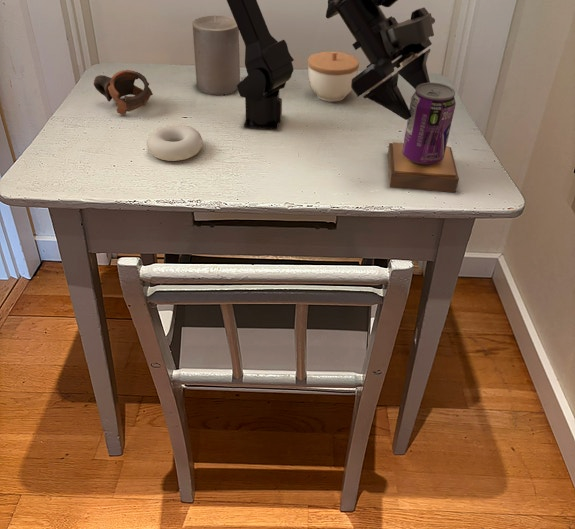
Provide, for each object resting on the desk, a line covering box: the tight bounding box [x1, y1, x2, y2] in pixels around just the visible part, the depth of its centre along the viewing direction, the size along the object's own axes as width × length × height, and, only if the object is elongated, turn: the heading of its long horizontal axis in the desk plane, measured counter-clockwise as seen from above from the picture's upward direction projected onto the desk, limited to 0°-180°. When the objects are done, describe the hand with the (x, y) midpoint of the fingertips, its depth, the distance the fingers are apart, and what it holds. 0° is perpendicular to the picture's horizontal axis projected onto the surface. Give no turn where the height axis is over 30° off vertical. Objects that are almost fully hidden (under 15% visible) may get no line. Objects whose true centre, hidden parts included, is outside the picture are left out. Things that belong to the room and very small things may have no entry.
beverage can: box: [402, 82, 457, 164], centre depth 94 cm, size 7×7×12 cm
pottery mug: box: [93, 69, 154, 116], centre depth 115 cm, size 12×10×8 cm
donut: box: [146, 124, 204, 162], centre depth 102 cm, size 10×4×10 cm
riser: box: [386, 141, 460, 193], centre depth 98 cm, size 11×11×3 cm
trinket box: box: [307, 51, 360, 103], centre depth 121 cm, size 11×11×9 cm
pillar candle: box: [192, 15, 241, 96], centre depth 121 cm, size 10×10×15 cm
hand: (420, 108), depth 93 cm, fingers open, 9 cm apart
